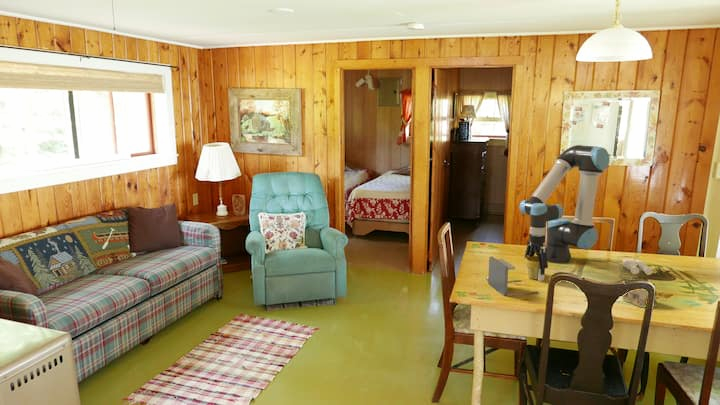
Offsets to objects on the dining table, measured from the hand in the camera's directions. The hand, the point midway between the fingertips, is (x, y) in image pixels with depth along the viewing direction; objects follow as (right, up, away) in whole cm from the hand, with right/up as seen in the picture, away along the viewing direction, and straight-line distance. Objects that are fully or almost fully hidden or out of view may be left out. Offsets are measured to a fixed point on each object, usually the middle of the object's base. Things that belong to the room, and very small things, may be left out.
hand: (535, 276), depth 253 cm
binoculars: (+57, +2, +10) cm, 58 cm away
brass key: (-22, -1, 0) cm, 22 cm away
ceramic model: (+35, -7, -32) cm, 48 cm away
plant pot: (0, -1, 0) cm, 1 cm away
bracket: (-15, -4, -13) cm, 20 cm away
